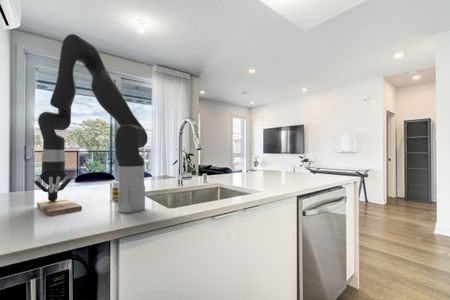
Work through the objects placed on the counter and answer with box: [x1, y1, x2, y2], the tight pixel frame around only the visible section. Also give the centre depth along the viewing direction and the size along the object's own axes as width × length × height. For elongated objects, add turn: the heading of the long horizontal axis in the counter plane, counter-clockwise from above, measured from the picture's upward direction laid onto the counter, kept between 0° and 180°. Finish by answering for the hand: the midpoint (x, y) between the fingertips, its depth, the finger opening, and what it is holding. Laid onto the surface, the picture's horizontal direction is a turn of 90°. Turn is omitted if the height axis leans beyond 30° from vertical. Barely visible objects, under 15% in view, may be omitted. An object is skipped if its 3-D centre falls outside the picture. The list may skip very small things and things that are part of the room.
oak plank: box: [36, 197, 72, 212], centre depth 87 cm, size 10×10×2 cm
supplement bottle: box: [111, 181, 118, 202], centre depth 99 cm, size 5×5×8 cm
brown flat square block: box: [42, 201, 83, 217], centre depth 80 cm, size 10×10×2 cm
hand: (52, 201), depth 88 cm, fingers closed
